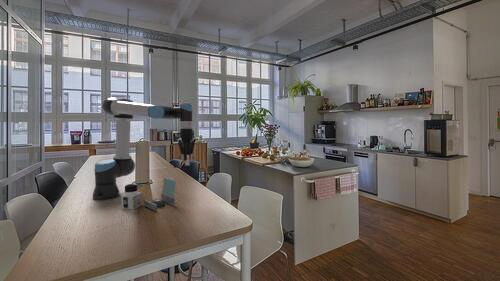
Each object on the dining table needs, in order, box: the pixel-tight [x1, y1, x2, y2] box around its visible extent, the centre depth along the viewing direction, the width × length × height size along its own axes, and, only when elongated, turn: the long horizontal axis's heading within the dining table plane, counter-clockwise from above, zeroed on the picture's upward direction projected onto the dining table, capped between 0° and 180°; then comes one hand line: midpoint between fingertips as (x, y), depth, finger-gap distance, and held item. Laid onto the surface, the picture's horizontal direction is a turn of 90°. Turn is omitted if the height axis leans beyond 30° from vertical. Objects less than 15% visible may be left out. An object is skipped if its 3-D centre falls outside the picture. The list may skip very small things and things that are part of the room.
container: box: [120, 183, 143, 210], centre depth 139 cm, size 8×8×13 cm
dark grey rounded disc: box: [150, 198, 165, 208], centre depth 142 cm, size 7×7×3 cm
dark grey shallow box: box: [143, 193, 176, 212], centre depth 141 cm, size 14×12×5 cm
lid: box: [161, 177, 177, 199], centre depth 146 cm, size 12×11×1 cm
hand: (187, 165), depth 154 cm, fingers closed
